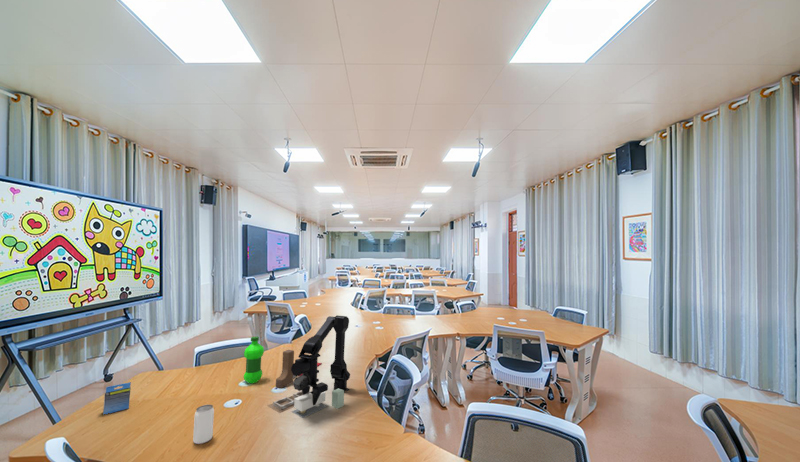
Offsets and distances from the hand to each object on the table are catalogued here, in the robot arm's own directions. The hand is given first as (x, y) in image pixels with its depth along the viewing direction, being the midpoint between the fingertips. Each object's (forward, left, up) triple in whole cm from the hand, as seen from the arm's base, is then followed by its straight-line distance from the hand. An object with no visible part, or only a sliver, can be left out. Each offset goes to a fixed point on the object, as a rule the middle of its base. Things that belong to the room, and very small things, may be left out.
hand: (310, 402), depth 144 cm
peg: (-10, +8, -4) cm, 13 cm away
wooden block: (-9, -36, -4) cm, 37 cm away
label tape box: (+56, -71, -4) cm, 90 cm away
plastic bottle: (0, -54, -4) cm, 54 cm away
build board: (0, -13, -4) cm, 14 cm away
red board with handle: (-27, -48, -4) cm, 55 cm away
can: (+40, -14, -4) cm, 42 cm away
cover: (0, 0, -1) cm, 1 cm away
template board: (0, 0, -4) cm, 4 cm away
